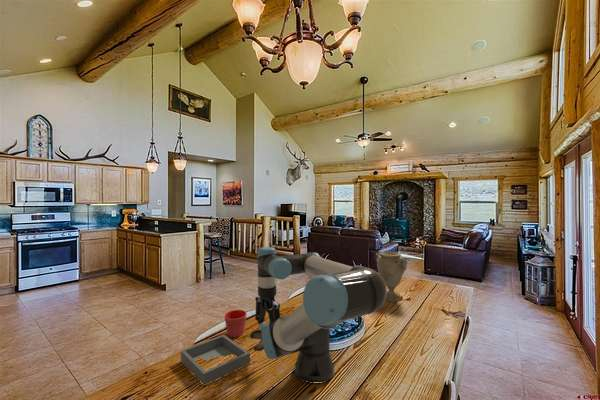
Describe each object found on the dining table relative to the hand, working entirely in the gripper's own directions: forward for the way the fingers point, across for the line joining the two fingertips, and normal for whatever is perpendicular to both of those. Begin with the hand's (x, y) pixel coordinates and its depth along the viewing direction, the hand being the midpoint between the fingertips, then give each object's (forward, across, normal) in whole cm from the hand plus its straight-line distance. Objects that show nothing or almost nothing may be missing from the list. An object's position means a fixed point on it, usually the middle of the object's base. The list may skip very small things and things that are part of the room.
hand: (267, 341), depth 116 cm
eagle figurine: (0, 0, +3) cm, 3 cm away
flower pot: (+8, +30, -3) cm, 32 cm away
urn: (+8, +2, -102) cm, 102 cm away
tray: (+8, +14, +16) cm, 23 cm away
